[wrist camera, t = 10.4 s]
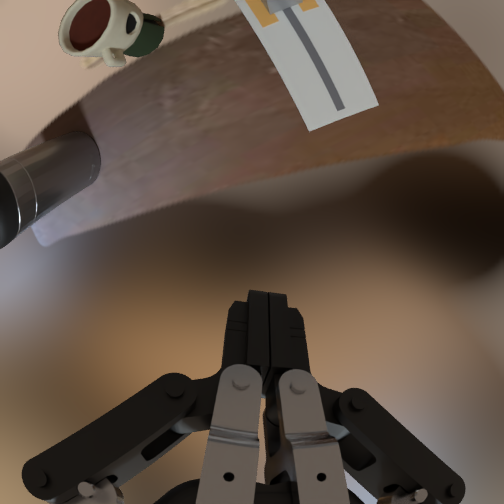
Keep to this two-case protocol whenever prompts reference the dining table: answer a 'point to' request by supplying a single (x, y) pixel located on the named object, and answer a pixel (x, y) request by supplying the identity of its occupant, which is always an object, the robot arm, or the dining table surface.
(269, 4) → the fader knob
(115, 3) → the character mug
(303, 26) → the fader console
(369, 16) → the dining table surface
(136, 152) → the dining table surface
